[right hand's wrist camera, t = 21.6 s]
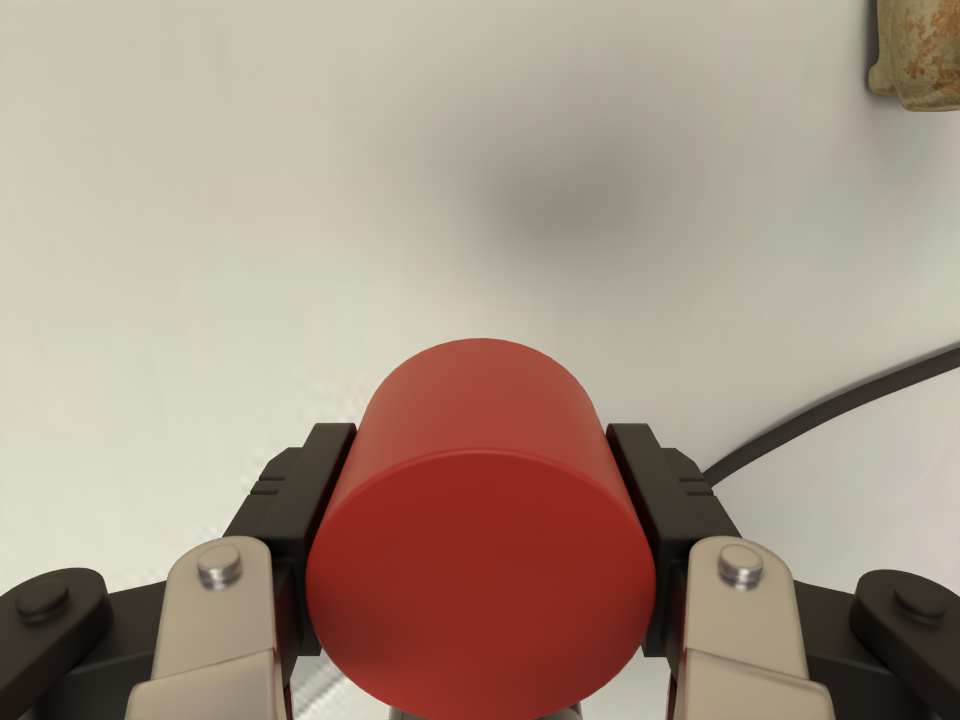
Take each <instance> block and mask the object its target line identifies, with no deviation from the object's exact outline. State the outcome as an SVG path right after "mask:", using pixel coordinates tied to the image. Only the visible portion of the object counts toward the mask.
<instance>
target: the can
mask: <svg viewBox="0 0 960 720" xmlns="http://www.w3.org/2000/svg"><path fill="white" fill-rule="evenodd" d="M656 591H657V583H656V569H655V564H654V560H653V555H652V551H651V549H650V546H649V544H648V541H647V539H646V536H645V534H644V531H643V529H642V526H641V524H640V521H639V519H638V516H637V514H636V511H635V509H634V506H633V504H632V501H631V499H630V496H629V494H628V491H627V489H626V486H625V484H624V481H623V479H622V476H621V474H620V471H619V469H618V466H617V464H616V461H615V459H614V456H613V454H612V451H611V449H610V446H609V444H608V441H607V439H606V436H605V434H604V431H603V429H602V426H601V424H600V421H599V419H598V416H597V414H596V411H595V409H594V406H593V404H592V402H591V400H590V398H589V397H588V395H587V393H586V391H585V390H584V388H583V387H582V386H581V385H580V383H579V382H578V381H577V380H576V378H575V377H574V376H573V375H572V374H570V373H569V372H568V371H567V370H566V369H565V368H564V367H563V366H562V365H560V364H559V363H557V362H556V361H554V360H553V359H552V358H550V357H548V356H546V355H545V354H543V353H541V352H539V351H537V350H535V349H532V348H529V347H527V346H524V345H521V344H518V343H514V342H509V341H505V340H498V339H488V338H478V339H464V340H457V341H451V342H447V343H444V344H440V345H436V346H434V347H432V348H429V349H427V350H424V351H422V352H420V353H418V354H417V355H415V356H413V357H411V358H410V359H408V360H406V361H405V362H404V363H402V364H401V365H400V366H399V367H397V368H396V369H395V370H394V371H393V372H392V373H391V374H390V375H389V376H388V377H387V378H386V379H385V380H384V381H383V382H382V384H381V385H380V386H379V388H378V389H377V390H376V392H375V393H374V395H373V397H372V399H371V401H370V402H369V404H368V406H367V409H366V411H365V414H364V416H363V419H362V421H361V424H360V426H359V429H358V431H357V434H356V436H355V439H354V441H353V444H352V446H351V449H350V451H349V454H348V456H347V459H346V461H345V464H344V466H343V469H342V471H341V474H340V476H339V479H338V481H337V484H336V486H335V489H334V491H333V494H332V496H331V499H330V501H329V504H328V506H327V509H326V511H325V514H324V516H323V519H322V521H321V524H320V526H319V529H318V531H317V534H316V536H315V539H314V542H313V545H312V547H311V550H310V553H309V556H308V561H307V566H306V572H305V597H306V603H307V610H308V615H309V618H310V621H311V624H312V627H313V630H314V632H315V634H316V636H317V638H318V640H319V642H320V644H321V646H322V648H323V649H324V650H325V652H326V653H327V655H328V656H329V657H330V659H331V660H332V662H333V663H334V664H335V665H336V666H337V667H338V668H339V669H340V670H341V671H342V673H343V674H344V675H345V676H346V677H348V678H349V679H350V680H351V681H352V682H354V683H355V684H356V685H357V686H358V687H359V688H361V689H362V690H364V691H365V692H367V693H368V694H370V695H371V696H373V697H375V698H376V699H378V700H380V701H382V702H384V703H386V704H388V705H390V706H392V707H394V708H396V709H399V710H401V711H404V712H406V713H409V714H412V715H415V716H418V717H422V718H426V719H429V720H532V719H536V718H540V717H543V716H546V715H549V714H553V713H555V712H558V711H560V710H563V709H565V708H567V707H570V706H572V705H574V704H576V703H578V702H580V701H581V700H583V699H585V698H587V697H589V696H590V695H592V694H593V693H595V692H596V691H597V690H599V689H600V688H602V687H603V686H605V685H606V684H607V683H608V682H609V681H610V680H611V679H613V678H614V677H615V676H616V675H617V674H618V673H619V672H620V671H621V670H622V669H623V668H624V667H625V665H626V664H627V663H628V662H629V661H630V660H631V658H632V657H633V655H634V654H635V652H636V651H637V649H638V648H639V646H640V645H641V643H642V641H643V639H644V637H645V635H646V632H647V630H648V628H649V625H650V622H651V619H652V615H653V612H654V607H655V599H656Z"/></svg>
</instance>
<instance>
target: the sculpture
mask: <svg viewBox="0 0 960 720" xmlns="http://www.w3.org/2000/svg"><path fill="white" fill-rule="evenodd" d="M877 19H878V31H879V49H880V53H879V59H878V63H876V64H874V65H873V66H872V67H871V69H870V71H869V75H868V81H869V86H870V89H871V91H872V92H873V93H875V94H878V95H883V96H899V99H900V102H901V104H902V106H903V107H904V108H905V109H906V110H909V111H914V112H945V111H956V110H960V0H877Z"/></svg>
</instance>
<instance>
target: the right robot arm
mask: <svg viewBox="0 0 960 720" xmlns="http://www.w3.org/2000/svg"><path fill="white" fill-rule="evenodd" d="M958 367H960V348H957V349H955V350H952V351H949V352H947V353H944V354H942V355H939V356H936V357H934V358H931V359H929V360H926V361H924V362H921V363H918V364H916V365H913V366H911V367H908V368H906V369H903V370H900V371H898V372H895V373H893V374H890V375H888V376H885V377H883V378H880V379H878V380H875V381H873V382H870V383H868V384H866V385H863V386H861V387H858V388H856V389H854V390H851V391H849V392H847V393H845V394H842V395H840V396H838V397H836V398H834V399H832V400H830V401H827V402H825V403H823V404H821V405H819V406H817V407H815V408H813V409H811V410H809V411H808V412H806V413H804V414H802V415H800V416H798V417H796V418H794V419H793V420H791V421H789V422H787V423H785V424H783V425H782V426H780V427H778V428H776V429H774V430H773V431H771V432H769V433H767V434H765V435H764V436H762V437H760V438H758V439H756V440H755V441H753V442H751V443H749V444H748V445H746V446H744V447H743V448H741V449H739V450H737V451H736V452H734V453H732V454H731V455H729V456H728V457H726V458H724V459H723V460H721V461H720V462H718V463H717V464H715V465H714V466H712V467H711V468H709V469H708V470H707V471H705V472H704V473H703V474H702V473H701V471H700V470H699V468H698V467H697V465H696V464H695V462H694V461H692V460H691V459H690V458H688V457H687V456H685V455H684V454H683V453H681V452H680V451H678V450H677V449H676V448H661V447H660V445H659V443H658V442H657V440H656V438H655V436H654V434H653V433H652V431H651V429H650V427H649V426H648V424H646V423H610V424H608V426H607V430H606V439H607V441H608V444H609V446H610V449H611V451H612V454H613V456H614V459H615V461H616V464H617V466H618V469H619V471H620V474H621V476H622V479H623V481H624V484H625V486H626V489H627V491H628V494H629V496H630V499H631V501H632V504H633V506H634V509H635V511H636V514H637V516H638V519H639V521H640V524H641V526H642V529H643V531H644V534H645V536H646V539H647V541H648V544H649V546H650V549H651V551H652V555H653V560H654V564H655V569H656V583H657V591H656V599H655V607H654V612H653V615H652V619H651V622H650V625H649V628H648V630H647V632H646V635H645V637H644V639H643V641H642V643H641V647H642V651H643V654H644V657H667V660H668V663H669V666H670V669H671V674H670V680H669V686H668V694H667V705H666V716H665V720H960V597H959V596H958V595H956V594H955V593H953V592H952V591H950V590H949V589H947V588H945V587H943V586H942V585H940V584H938V583H936V582H933V581H931V580H929V579H926V578H924V577H921V576H918V575H915V574H912V573H908V572H903V571H898V570H884V569H882V570H874V571H871V572H868V573H866V574H864V575H863V576H862V577H861V578H860V579H859V581H858V584H857V587H856V591H855V594H850V593H846V592H841V591H836V590H832V589H827V588H823V587H818V586H814V585H810V584H806V583H802V582H799V581H796V580H794V579H793V577H792V574H791V572H790V570H789V568H788V566H787V565H786V564H785V563H784V561H783V560H781V559H780V558H779V557H778V556H777V555H776V554H774V553H773V552H772V551H770V550H768V549H767V548H765V547H763V546H761V545H759V544H757V543H754V542H752V541H749V540H746V539H743V538H742V536H741V535H740V533H739V532H738V530H737V529H736V527H735V525H734V524H733V522H732V521H731V519H730V517H729V516H728V514H727V513H726V511H725V509H724V508H723V506H722V505H721V503H720V502H719V500H718V498H717V497H716V496H714V494H713V490H712V489H711V488H712V487H713V486H714V485H716V484H717V483H719V482H720V481H721V480H723V479H724V478H726V477H727V476H729V475H730V474H732V473H734V472H735V471H737V470H738V469H740V468H742V467H743V466H745V465H747V464H749V463H750V462H752V461H754V460H756V459H757V458H759V457H761V456H763V455H764V454H766V453H768V452H770V451H772V450H774V449H775V448H777V447H779V446H781V445H783V444H785V443H786V442H788V441H790V440H792V439H794V438H796V437H797V436H799V435H801V434H803V433H805V432H807V431H809V430H811V429H812V428H814V427H816V426H818V425H820V424H822V423H824V422H826V421H828V420H830V419H832V418H834V417H836V416H839V415H841V414H843V413H845V412H847V411H850V410H852V409H854V408H856V407H859V406H861V405H863V404H866V403H868V402H870V401H873V400H875V399H878V398H880V397H883V396H885V395H888V394H890V393H893V392H895V391H898V390H900V389H903V388H906V387H908V386H911V385H913V384H916V383H919V382H921V381H924V380H926V379H929V378H932V377H934V376H937V375H939V374H942V373H945V372H947V371H950V370H952V369H955V368H958ZM356 434H357V429H356V426H355V424H354V423H316V424H315V425H314V427H313V429H312V431H311V433H310V434H309V436H308V438H307V440H306V442H305V444H304V445H303V447H288V448H287V449H286V450H284V451H283V452H281V453H280V454H279V455H277V456H276V457H274V458H273V459H272V460H270V461H269V462H268V464H267V465H266V467H265V469H264V470H263V472H262V473H261V475H260V477H259V481H256V483H255V485H254V486H253V488H252V490H251V491H250V495H248V496H247V498H246V499H245V501H244V502H243V504H242V506H241V507H240V509H239V510H238V512H237V514H236V515H235V517H234V518H233V520H232V522H231V523H230V525H229V527H228V528H227V530H226V531H225V533H224V535H223V536H222V538H218V539H214V540H211V541H208V542H206V543H203V544H201V545H199V546H197V547H195V548H193V549H192V550H190V551H188V552H187V553H186V554H184V555H183V556H182V557H181V558H180V559H179V560H177V561H176V563H175V564H174V565H173V566H172V568H171V570H170V572H169V574H168V577H167V580H165V581H162V582H159V583H155V584H151V585H146V586H142V587H137V588H133V589H128V590H124V591H119V592H114V593H110V594H108V592H107V588H106V585H105V581H104V579H103V577H102V576H101V575H100V574H99V573H98V572H96V571H94V570H91V569H88V568H66V569H60V570H55V571H51V572H48V573H45V574H42V575H39V576H36V577H34V578H31V579H29V580H27V581H25V582H23V583H21V584H19V585H18V586H16V587H14V588H12V589H11V590H9V591H8V592H6V593H5V594H3V595H2V596H1V597H0V720H295V716H294V705H293V694H292V686H291V680H290V677H291V675H292V672H293V669H294V666H295V663H296V660H297V657H298V656H320V653H321V650H322V646H321V644H320V642H319V640H318V638H317V636H316V634H315V632H314V630H313V627H312V624H311V621H310V618H309V615H308V610H307V603H306V597H305V572H306V566H307V561H308V556H309V553H310V550H311V547H312V545H313V542H314V539H315V536H316V534H317V531H318V529H319V526H320V524H321V521H322V519H323V516H324V514H325V511H326V509H327V506H328V504H329V501H330V499H331V496H332V494H333V491H334V489H335V486H336V484H337V481H338V479H339V476H340V474H341V471H342V469H343V466H344V464H345V461H346V459H347V456H348V454H349V451H350V449H351V446H352V444H353V441H354V439H355V436H356ZM388 720H429V719H426V718H422V717H418V716H415V715H412V714H409V713H406V712H404V711H401V710H399V709H396V708H394V707H392V706H390V712H389V719H388ZM532 720H583V717H582V711H581V705H580V702H578V703H576V704H574V705H572V706H570V707H567V708H565V709H563V710H560V711H558V712H555V713H553V714H549V715H546V716H543V717H540V718H536V719H532Z"/></svg>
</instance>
